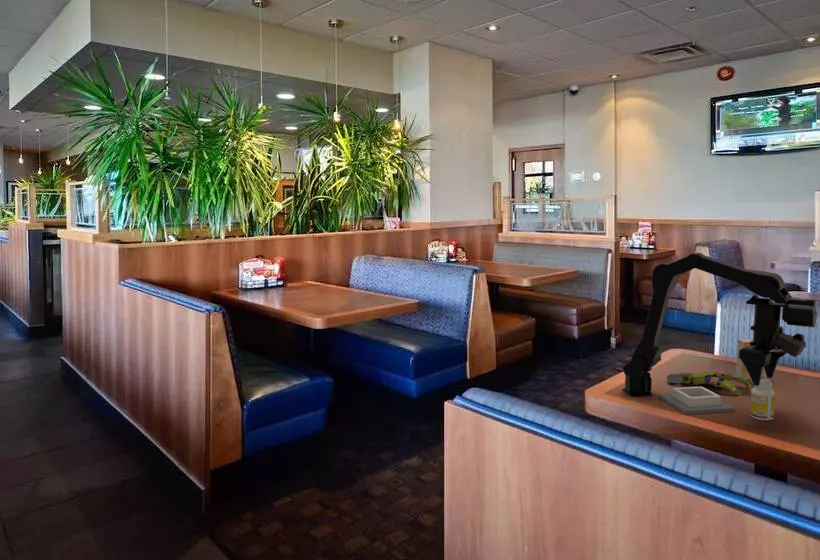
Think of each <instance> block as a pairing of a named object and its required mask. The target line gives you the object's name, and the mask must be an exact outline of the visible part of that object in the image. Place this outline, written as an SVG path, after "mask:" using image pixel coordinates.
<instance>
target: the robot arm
mask: <svg viewBox="0 0 820 560" xmlns="http://www.w3.org/2000/svg"><path fill="white" fill-rule="evenodd" d="M694 269H696V270H699V271H702V272H705V273H707V274H710V275H714V276H717V277H720V278H722V279H725V280H727V281H730V282H734V283H737V284H738V285H741V286H743V288H745V289H746V290H748V291H750V292H752V294H753V295H752V296H751V298H749V299H748V300H747V301H746V302H745V304H746V305H753V306H754V313H753V314H754V315H753V316H754V317H753V324H752V325H751V326H750V331H752V332H753V333H752V335H753V336H752V339H753V341H751V342H750V346H747V347H745V348H743V349H741V350H740V351H739V359H741V361H743V363H744V365H745V367H746V369H747V371H748V373H749V375H750V377H751V379H752V382H753V384H754V385H756V386H759V384H760V380H761V376H762V372H763V367H764V368H765V372H766V375H767V377H768V378H769V379H773V377H774V375H775V371H776V369H777V366H778V364H779V361H780V359H781V358H782V357H784V356H786V355H787V354H788V355H789V356H790V357H794V358H796V357H798V356H800V355H801V354H802V352H803V350H804V349H805V348H806V346H807V341H805V335H803V334H802V333H799V332H798V333H797V332H796V334H794V335H791V334H787V333H784V327H783V326H782V325H781V319H782V321H783V322H784V323H786V325H788V326H794V327H795V326H796V327H806V328H814V329H815V326H816V323H817V317H818V311H817V304H816V299H812V298H808V299H802V298H793V296H792V295H791V294H790V292H789V291H788V289H786V287H785V281H784V279H783V278H782V276H781V275H780V274H778V273H775V272H770V271H764V270H757V269H756V270H755V269H748V268H745V267H741V266H739V265H738V266H737V265H735V264H733V263H729V262H726V261H723V260H720V259H717V258H715V257H711V256H709V255H705V254H703V253H701V252H694V253H690V254H689V255H688V256H685V257H683V258H681V259H678V260H676V261H673V262H672V261H667V262H663V263H660V264H658V265H656V266H655V267H654V268H653V269H652V274H651V275H652V276H651V287H652V296H651V301H650V305H649V309H648V313H647V317H646V320H645V326H644V329H643V333H642V338H641V339H640V341H639V343H638V344H637V346H636V347H635V349H634V352H633V353H632V356H631V359H630V361H629V362H628V363H627V364H625V365H624V366H623V367H622V370H623V373H624V376H625V377H624V378H625V379H624V380H625V381H624V383H625V384H624V387H622V391H623V392H625V393H626V394H628V395H629V396H630V397H643V396H653V392H652V385H653V384H652V383H653V381H652V380H653V379H652V377H651V371H652V369H653V367H655V366H656V365H657V364H658V363H659V362H661V361H662V355H663V352H664V350H665V349H664V347H660V345H659V338H660V334H661V330H662V327H663V324H664V319H665V315H666V311H667V307H668V304H669V301H670V296H671V294H672V292H673V291H674V289H675V288H676V286H677V284H678V282H679V280H680V278H681V276H682V275H683V274H686V273H687V272H689V271H692V270H694ZM759 296H760V297H759ZM781 310H782V311H781ZM781 312H782V313H781ZM752 346H755V347H752Z"/></svg>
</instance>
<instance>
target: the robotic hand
mask: <svg viewBox="0 0 820 560" xmlns="http://www.w3.org/2000/svg"><path fill="white" fill-rule="evenodd" d="M666 379H667V382H668V383H673V384H685V385H686V384H693V386H697V385H704V384H709V385H712V386H714V387H715V388H719V387H720V388H722V389H724V390H726V391H729V392H731V393H732V394H733V395H735V396H738V397H739V396H741V395H742V392H741V390H740V389H739V388H738V386H734V385H732V384H731V383H729V382H728V381H734V382H740V383H742V384H744V385H745V388H746V389H747V390H749V389H750V391H751V390H752V388H754V387H755V386H754V384H753V382H751V381H752V380H751V379H748V378H747V379H745V378H742V377H741V376H739V375H736V374H732V373H727V372H725V371H719V372H717V371H716V372H715V371H707V372H706V371H704V372H695V373H692V372H681V373H680V372H679V373H676V374H675V373H674V374H673V373H672V374H671V373H670V374H668V375H667V376H666ZM750 380H751V381H750Z"/></svg>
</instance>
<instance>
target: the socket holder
mask: <svg viewBox="0 0 820 560" xmlns="http://www.w3.org/2000/svg"><path fill="white" fill-rule="evenodd" d="M658 399H660V400H661V401H664V402H665V403H666V404H668V405H670V406H671V407H673V408H674V409H676V410H677V411H680V413H683V415H701V414H715V413H716V414H718V413H734V412H736V408H735V407H734V406H733V405H731V404H729V403H726V402H725V401H723V400H722V396H721V395H720V394H718V393H715V392H713V391H711V390H709V389H708V388H705V387H703V386H687V387H686V386H685V387H684V386H683V387H672V388H671V393H659V394H658Z"/></svg>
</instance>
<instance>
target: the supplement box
mask: <svg viewBox="0 0 820 560" xmlns="http://www.w3.org/2000/svg"><path fill="white" fill-rule="evenodd" d="M751 341H753V338H737V349H736V351H737V352H736V362H735V363H736V366H735V367H736V368H735V375H739V376H741V377H742V378H745V379H747V378H748V379H751V377H750V375H749V373H748V371H747V369H746V367H745V365H744V363H743V361H741V359H739V351H740V350H741V349H743V348H745V347H747V346H750V342H751ZM752 347H755V346H752ZM761 379H766V380H770V378H768V377H767V375H766V372H765V368H764V367H763V372H762V376H761ZM751 380H752V379H751ZM751 380H750V381H751ZM751 382H752V381H751Z"/></svg>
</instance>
